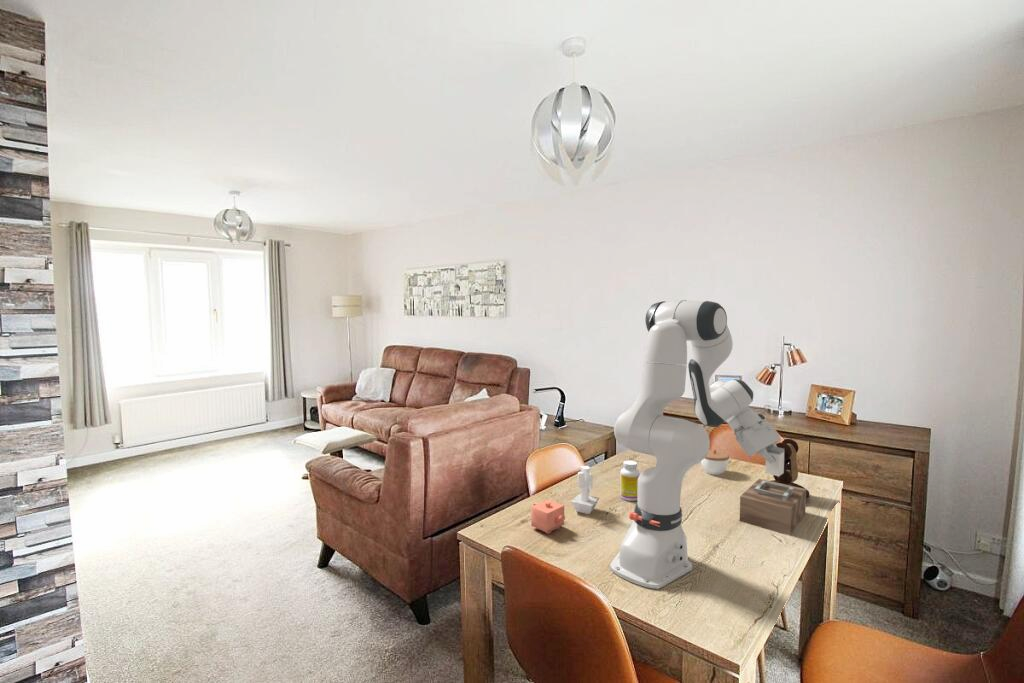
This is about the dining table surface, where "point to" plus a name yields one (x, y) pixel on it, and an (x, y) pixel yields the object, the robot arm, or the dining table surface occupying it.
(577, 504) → the figurine
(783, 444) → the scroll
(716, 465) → the lidded jar
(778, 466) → the grey white rectangular block
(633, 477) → the supplement bottle
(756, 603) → the dining table surface
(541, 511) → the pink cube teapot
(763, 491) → the block
